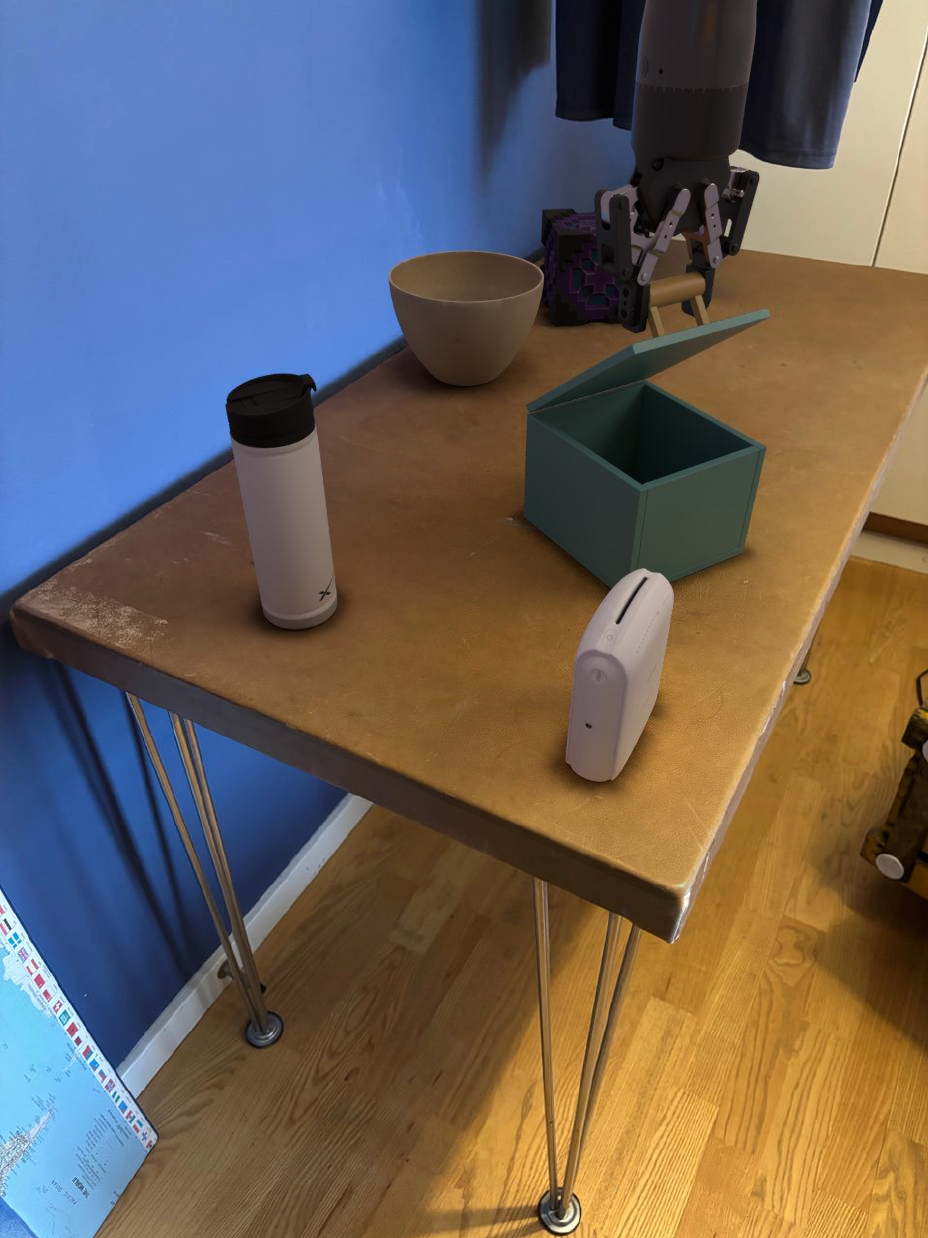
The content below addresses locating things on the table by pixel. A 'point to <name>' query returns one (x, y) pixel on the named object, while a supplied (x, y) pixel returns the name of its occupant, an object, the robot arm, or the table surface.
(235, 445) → the travel mug
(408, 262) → the beige bowl
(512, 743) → the table surface
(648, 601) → the photo printer
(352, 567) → the table surface
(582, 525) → the chest
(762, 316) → the lid
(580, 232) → the energy cube
